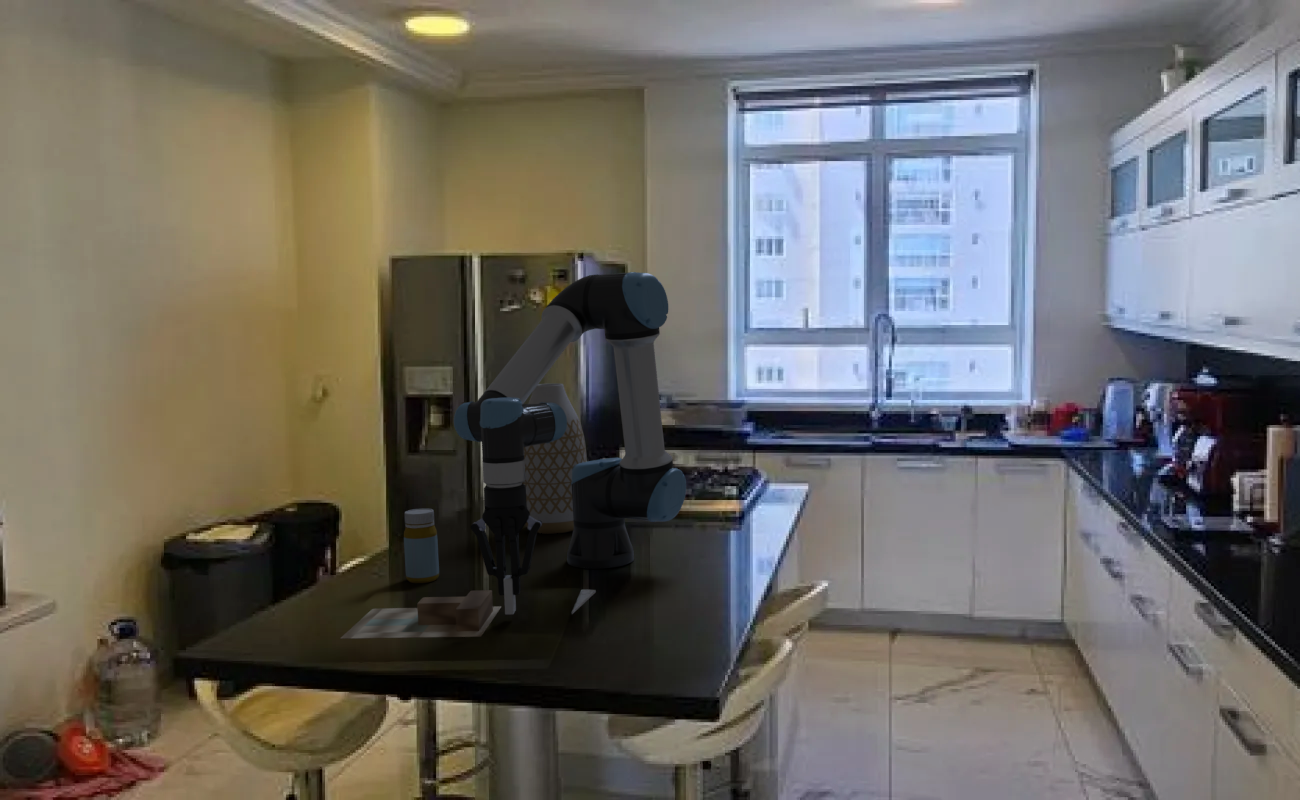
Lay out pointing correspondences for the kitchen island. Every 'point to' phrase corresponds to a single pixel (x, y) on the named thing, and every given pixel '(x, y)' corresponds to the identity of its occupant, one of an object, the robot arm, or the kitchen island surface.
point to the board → (406, 625)
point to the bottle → (421, 546)
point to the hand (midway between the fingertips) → (510, 612)
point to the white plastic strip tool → (582, 598)
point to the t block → (457, 610)
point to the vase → (553, 467)
